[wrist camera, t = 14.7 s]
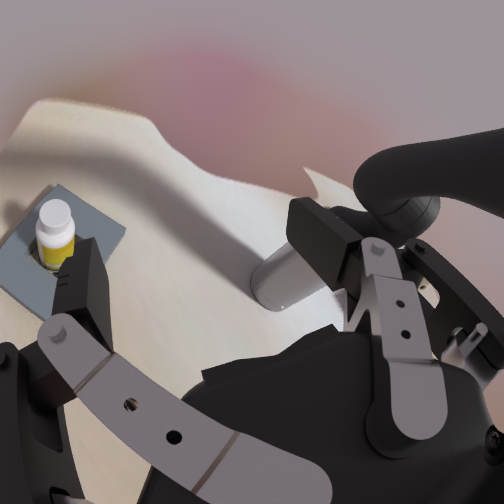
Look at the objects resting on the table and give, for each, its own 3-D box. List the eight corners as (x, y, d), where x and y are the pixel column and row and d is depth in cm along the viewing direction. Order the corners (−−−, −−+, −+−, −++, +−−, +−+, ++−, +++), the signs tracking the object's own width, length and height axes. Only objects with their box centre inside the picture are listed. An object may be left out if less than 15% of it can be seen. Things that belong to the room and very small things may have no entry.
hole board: (57, 191, 34) (58, 183, 33) (123, 235, 38) (126, 228, 37) (-11, 276, 22) (-15, 270, 21) (64, 335, 26) (63, 331, 25)
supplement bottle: (80, 258, 33) (85, 217, 26) (53, 281, 29) (48, 242, 22) (60, 232, 32) (61, 187, 25) (32, 252, 28) (25, 208, 21)
